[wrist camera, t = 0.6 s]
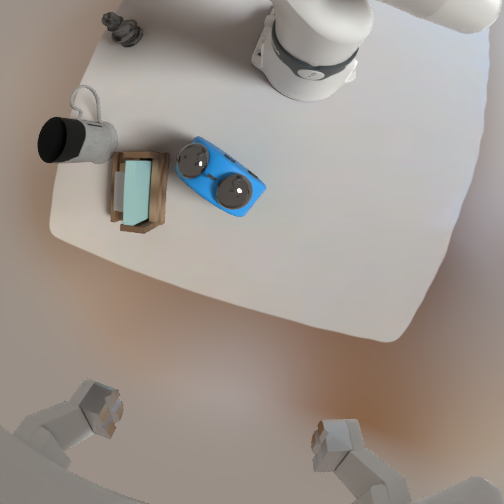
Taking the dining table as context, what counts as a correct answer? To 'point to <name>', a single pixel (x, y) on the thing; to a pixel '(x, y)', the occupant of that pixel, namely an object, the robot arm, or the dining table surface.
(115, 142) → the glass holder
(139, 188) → the panel
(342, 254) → the dining table surface
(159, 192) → the rack
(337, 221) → the dining table surface
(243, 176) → the alarm clock
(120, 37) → the dark grey figurine
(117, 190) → the grey offcut
